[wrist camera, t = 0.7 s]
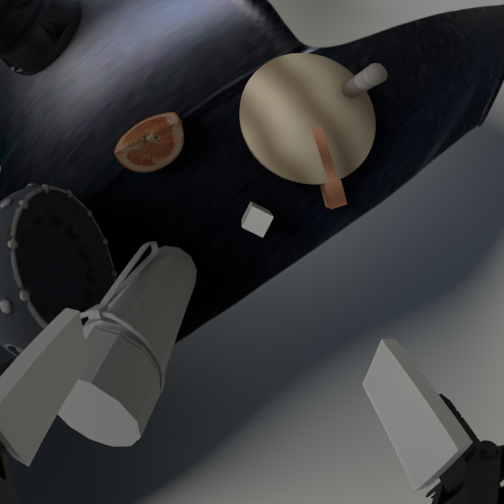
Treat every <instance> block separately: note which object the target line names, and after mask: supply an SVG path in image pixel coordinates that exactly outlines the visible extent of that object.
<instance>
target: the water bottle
mask: <svg viewBox="0 0 504 504" xmlns="http://www.w3.org/2000/svg"><path fill="white" fill-rule="evenodd" d="M150 245H151V248H152V251H151V253H150V254H149V255H148V256H147V257H146V258H145V259H144V260H143V262H142V263H141V264H140V265H139V266H138V267H137V268H136V269H135V270H134V271H133V272H132V273H131V274H130V275H129V276H128V277H127V275H128V274H129V272H130V271H131V270H132V268H133V267H134V265H135V264H136V263H137V261H138V260H139V259H140V257H141V256H142V254H143V253H144V252H145V250H146V249H147V248H148V246H150ZM196 273H197V269H196V266H195V264H194V262H193V260H192V258H191V256H190V255H188V254H187V253H186V252H184V251H183V250H182V249H180V248H177V247H170V246H163V247H161V248H158V245H157V242H148V243H145V244H144V245H142V246H141V248H140V249H139V250H138V252H137V253H136V254H135V255H134V257H133V258H132V259H131V261H130V262H129V263H128V265H127V266H126V267H125V269H124V270H123V272H122V273H121V274H120V276H119V277H118V278H117V280H116V281H115V283H114V284H113V285H112V287H111V288H110V290H109V291H108V292H107V294H106V295H105V297H104V298H103V300H102V301H101V303H100V304H97V305H95V306H94V307H92V308H90V309H88V310H87V311H86V312H82V313H80V316H81V319H82V318H85V317H88V318H89V320H88V321H87V322H86V323H85V324H84V325H83V332H84V337H85V342H86V346H87V351H88V355H89V359H90V362H89V363H88V365H87V366H86V368H85V369H84V371H83V372H82V374H81V375H80V377H79V379H78V380H77V382H76V383H75V385H74V387H73V388H72V390H71V392H70V393H69V395H68V396H67V398H66V400H65V401H64V403H63V405H62V406H61V408H60V410H59V412H58V413H57V414H58V415H59V416H60V417H61V418H62V419H63V420H64V421H65V422H66V423H67V424H68V425H69V426H70V427H72V428H73V429H75V430H76V431H78V432H80V433H81V434H83V435H84V436H86V437H87V438H89V439H92V440H94V441H98V442H100V443H104V444H106V445H110V446H131V445H132V444H133V443H135V441H137V440H138V439H139V438H140V437H141V435H142V433H143V430H144V428H145V426H146V424H147V421H148V419H149V417H150V415H151V413H152V411H153V408H154V406H155V404H156V402H157V399H158V397H159V396H160V394H161V392H162V390H163V387H164V379H165V370H166V367H167V364H168V361H169V358H170V355H171V352H172V349H173V346H174V343H175V340H176V337H177V334H178V331H179V328H180V325H181V322H182V319H183V317H184V314H185V311H186V308H187V305H188V302H189V300H190V297H191V294H192V291H193V288H194V286H195V283H196ZM126 277H127V278H126ZM125 278H126V279H125ZM124 279H125V280H124Z"/></svg>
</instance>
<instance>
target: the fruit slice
mask: <svg viewBox="0 0 504 504" xmlns="http://www.w3.org/2000/svg"><path fill="white" fill-rule="evenodd" d="M182 123H183V121H180V119H179V116H178V115H177V114H176V113H175V112H169V113H163V114H159V115H155V116H152V117H150V118H147V119H145V120H143V121H141V122H140V123H138V124H136V125H135V126H134V127H132V128H131V129H130V130H129V131H128V132H127V133H125V134H124V135H123V136H122V137H121V139H120V140H119V141H118V143H117V145H116V147H115V151H114V154H115V157H116V158H117V159H118V161H119V162H120V163H121V164H122V165H123V166H124V167H126V168H128V169H130V170H132V171H135V172H151V171H156V170H158V169H161V168H163V167H165V166H167V165H168V164H169V163H171V162H172V161H173V160H174V159H175V158H176V157H177V156H178V155H179V153H180V151H181V150H182V146H183V142H184V132H183V127H182Z"/></svg>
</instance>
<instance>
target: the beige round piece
mask: <svg viewBox="0 0 504 504" xmlns="http://www.w3.org/2000/svg"><path fill="white" fill-rule="evenodd" d="M386 79H387V72H386V70H385V68H384V67H383V66H382V65H380V64H378V63H373V64H371V65H370V66H368V67H367V68H365V69H364V70H363V71H361V72H360V73H358V74H357V75H356V76H354V75H353V74H352V73H351V72H350V71H349V70H348V69H346V68H345V67H343V66H342V65H340V64H339V63H337V62H335V61H333V60H331V59H328V58H326V57H323V56H319V55H315V54H308V53H296V54H288V55H284V56H281V57H278V58H275V59H273V60H271V61H269V62H267V63H266V64H264V65H263V66H262V67H260V68H259V69H258V70H257V71H256V72H255V73H254V74H253V76H252V77H251V78H250V79H249V81H248V83H247V85H246V86H245V89H244V91H243V94H242V98H241V102H240V126H241V131H242V135H243V137H244V140H245V142H246V144H247V146H248V148H249V150H250V151H251V153H252V154H253V155H254V157H255V158H256V159H257V160H258V161H259V162H260V163H261V164H262V165H263V166H264V167H265V168H267V169H268V170H269V171H271V172H272V173H274V174H276V175H278V176H280V177H282V178H285V179H287V180H290V181H295V182H299V183H304V184H319V185H320V188H321V192H322V196H323V199H324V203H325V206H326V207H328V208H330V209H334V208H337V207H340V206H343V205H347V202H346V198H345V194H344V190H343V186H342V182H341V178H343V177H346V176H347V175H349V174H350V173H352V172H353V171H354V170H355V169H357V168H358V167H359V166H360V165H361V163H362V162H363V161H364V160H365V158H366V157H367V155H368V154H369V151H370V149H371V147H372V144H373V141H374V136H375V127H376V121H375V113H374V109H373V105H372V102H371V100H370V97H369V95H368V93H367V90H369V89H370V88H372V87H374V86H376V85H378V84H380V83H381V82H383V81H385V80H386Z"/></svg>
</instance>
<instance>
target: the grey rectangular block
mask: <svg viewBox="0 0 504 504" xmlns="http://www.w3.org/2000/svg"><path fill="white" fill-rule="evenodd" d="M273 218H274V217H273V215H272V214H271V212H270V211H269V210H267V209H265V208H263V207H261V206H259V205H257V204H255V203H253V202H250V204H249V206H248V208H247V210H246V211H245V213H244V215H243V217H242V228H244V229H246V230H248V231H250V232H253V233H255V234H257V235H259V236H261V237H263V236H264V235H265V233H266V231H267V229H268V227H269V225H270V223H271V221H272V219H273Z"/></svg>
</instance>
